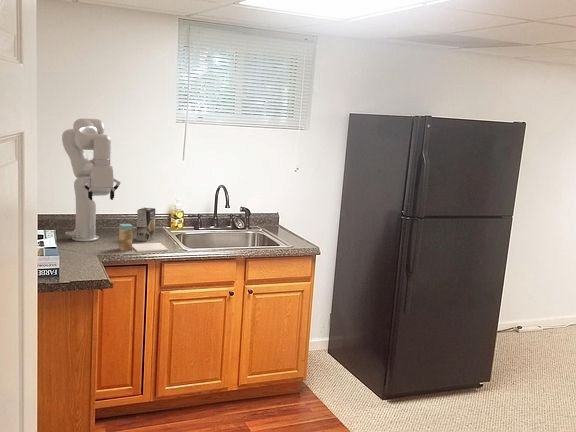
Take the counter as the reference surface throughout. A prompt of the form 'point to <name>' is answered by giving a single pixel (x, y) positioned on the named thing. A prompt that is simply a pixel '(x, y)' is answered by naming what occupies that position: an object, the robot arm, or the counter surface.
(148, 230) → the coffee box
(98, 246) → the counter surface
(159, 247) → the cutting board
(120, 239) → the tan jar
